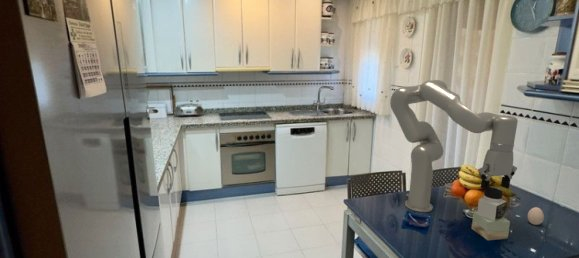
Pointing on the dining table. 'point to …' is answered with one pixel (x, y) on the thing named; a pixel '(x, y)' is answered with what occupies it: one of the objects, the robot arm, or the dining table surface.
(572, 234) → the dining table surface
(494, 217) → the medicine bottle
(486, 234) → the block bottom
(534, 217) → the egg
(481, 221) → the block top
